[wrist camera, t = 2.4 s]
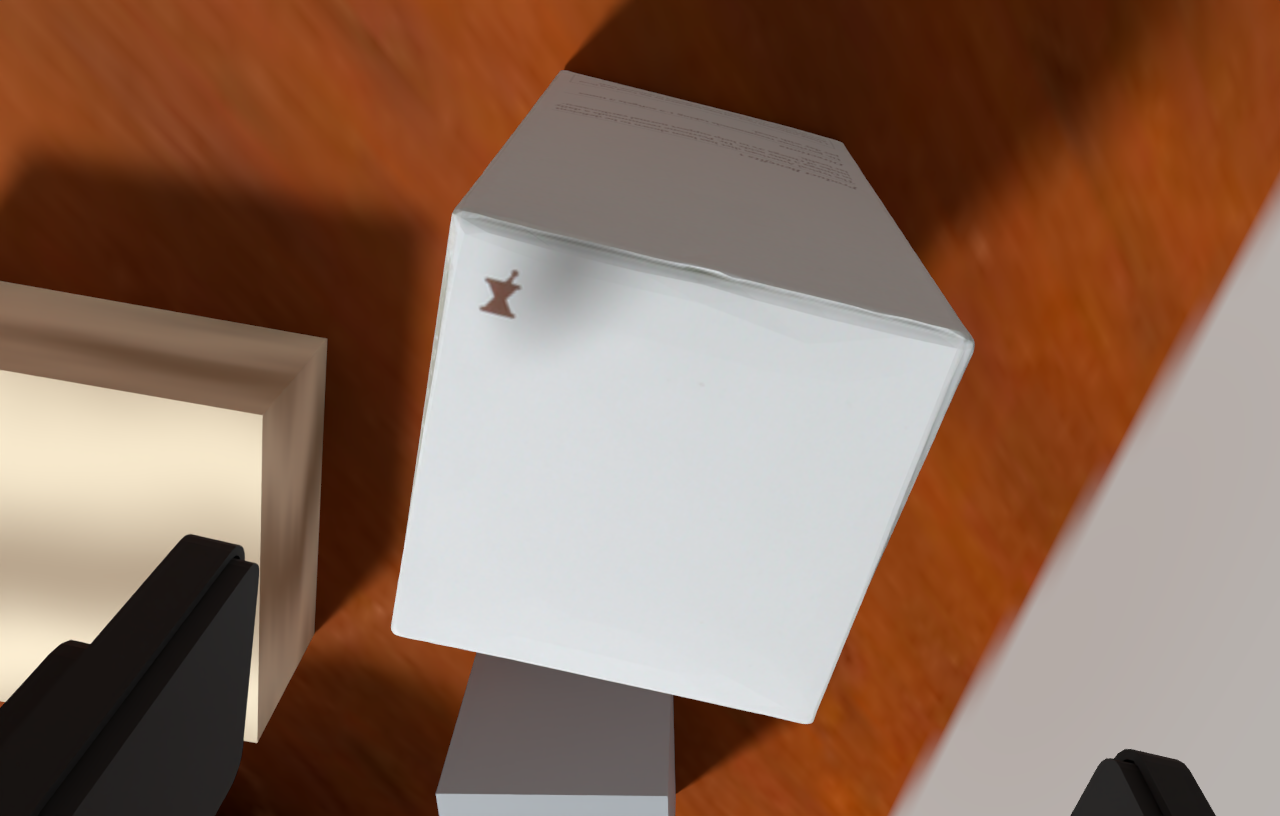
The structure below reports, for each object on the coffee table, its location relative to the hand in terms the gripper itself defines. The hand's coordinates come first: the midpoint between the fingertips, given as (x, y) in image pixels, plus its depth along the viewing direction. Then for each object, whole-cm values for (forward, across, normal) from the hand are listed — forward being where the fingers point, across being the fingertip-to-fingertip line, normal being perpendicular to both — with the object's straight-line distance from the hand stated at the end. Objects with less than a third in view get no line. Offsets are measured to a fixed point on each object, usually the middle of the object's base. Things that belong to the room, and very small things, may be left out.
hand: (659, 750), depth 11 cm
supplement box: (+17, +1, -1) cm, 17 cm away
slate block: (+18, 0, +15) cm, 23 cm away
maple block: (+17, +14, +9) cm, 24 cm away
